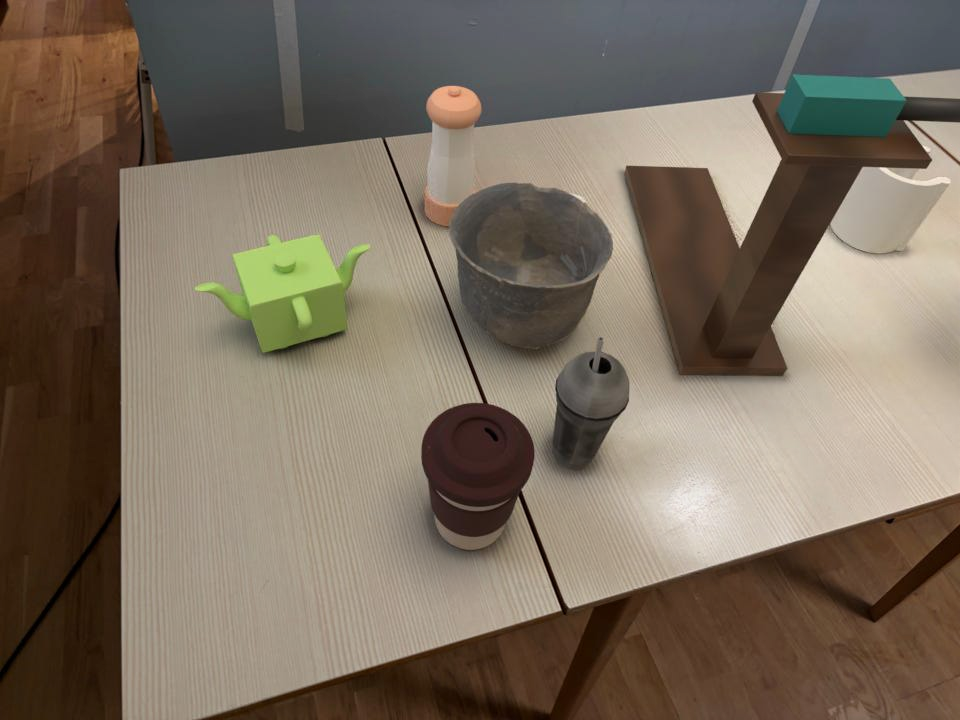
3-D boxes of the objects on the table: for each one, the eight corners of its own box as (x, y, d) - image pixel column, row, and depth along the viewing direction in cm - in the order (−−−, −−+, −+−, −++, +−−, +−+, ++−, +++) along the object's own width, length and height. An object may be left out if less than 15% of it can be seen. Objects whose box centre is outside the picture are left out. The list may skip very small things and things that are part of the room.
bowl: (466, 388, 82) (473, 299, 71) (431, 283, 93) (433, 190, 81) (606, 363, 86) (636, 274, 75) (558, 264, 97) (578, 173, 85)
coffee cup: (423, 568, 69) (424, 493, 57) (419, 477, 75) (418, 393, 63) (524, 561, 70) (545, 486, 58) (512, 472, 76) (528, 389, 64)
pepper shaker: (450, 188, 106) (455, 66, 91) (485, 212, 103) (496, 90, 88) (414, 208, 102) (413, 85, 87) (448, 234, 99) (454, 110, 84)
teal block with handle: (1002, 119, 67) (1027, 84, 64) (1022, 142, 64) (1049, 106, 61) (776, 111, 65) (792, 74, 62) (788, 133, 63) (805, 96, 60)
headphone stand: (704, 175, 112) (785, -40, 87) (785, 382, 86) (933, 159, 61) (624, 173, 111) (682, -46, 86) (681, 381, 85) (788, 154, 60)
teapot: (375, 299, 90) (371, 236, 82) (332, 378, 82) (322, 316, 74) (265, 270, 92) (250, 205, 84) (212, 344, 84) (190, 281, 76)
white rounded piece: (796, 149, 118) (828, 82, 109) (853, 153, 119) (890, 86, 109) (841, 251, 103) (884, 182, 93) (907, 255, 103) (956, 187, 94)
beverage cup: (619, 459, 78) (668, 341, 62) (569, 493, 75) (609, 378, 59) (574, 414, 81) (611, 291, 66) (526, 445, 78) (552, 324, 63)
